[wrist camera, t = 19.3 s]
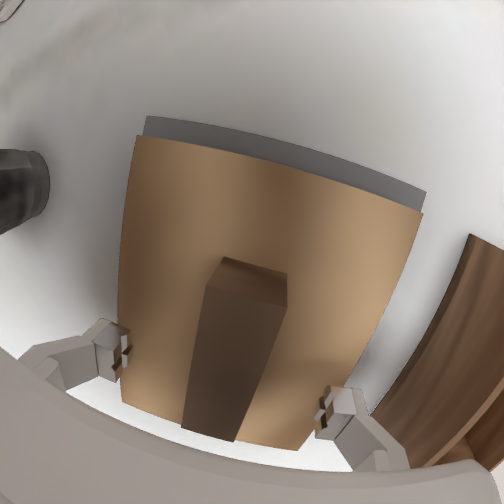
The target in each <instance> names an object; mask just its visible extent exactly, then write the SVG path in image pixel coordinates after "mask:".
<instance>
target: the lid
mask: <svg viewBox="0 0 504 504" xmlns="http://www.w3.org/2000/svg"><path fill="white" fill-rule="evenodd" d="M422 216H423V213H421V212H418V211H416V210H414V209H411V208H409V207H406V206H404V205H401V204H399V203H396V202H393V201H391V200H388V199H386V198H383V197H380V196H378V195H375V194H372V193H369V192H366V191H364V190H361V189H358V188H355V187H352V186H349V185H346V184H343V183H340V182H337V181H334V180H331V179H328V178H325V177H321V176H318V175H315V174H312V173H308V172H305V171H302V170H298V169H295V168H291V167H288V166H284V165H280V164H277V163H273V162H269V161H265V160H261V159H257V158H253V157H249V156H245V155H241V154H237V153H232V152H228V151H223V150H219V149H214V148H209V147H204V146H199V145H194V144H189V143H184V142H178V141H173V140H167V139H161V138H154V137H148V136H140V135H137V138H136V142H135V147H134V152H133V157H132V163H131V168H130V174H129V180H128V186H127V193H126V200H125V207H124V216H123V224H122V234H121V245H120V258H119V275H118V325H120V326H123V327H125V328H127V329H130V330H132V331H133V332H134V339H133V340H132V342H131V343H132V345H133V346H134V352H133V357H132V359H131V362H130V363H129V365H128V366H127V367H124V368H123V373H122V375H121V376H120V385H121V396H122V402H124V403H126V404H128V405H131V406H133V407H135V408H138V409H140V410H143V411H145V412H148V413H150V414H153V415H155V416H158V417H161V418H164V419H166V420H169V421H172V422H175V423H178V424H181V428H184V429H187V430H190V431H193V432H196V433H200V434H203V435H207V436H210V437H214V438H218V439H222V440H225V441H230V442H234V441H235V440H238V441H243V442H247V443H252V444H257V445H262V446H268V447H273V448H280V449H286V450H293V451H298V450H299V448H300V447H301V446H302V445H303V443H304V442H305V441H306V439H307V438H308V437H309V435H310V434H311V433H312V431H313V430H314V429H315V427H314V426H315V425H316V423H317V421H316V420H315V419H314V408H315V405H316V402H317V401H318V399H319V398H320V397H322V396H324V394H323V391H324V389H325V387H326V386H327V385H332V386H339V387H343V385H344V384H345V382H346V381H347V379H348V377H349V376H350V374H351V372H352V371H353V369H354V367H355V366H356V364H357V362H358V360H359V359H360V357H361V355H362V353H363V351H364V350H365V348H366V346H367V344H368V342H369V340H370V339H371V337H372V335H373V333H374V331H375V329H376V327H377V325H378V323H379V321H380V319H381V317H382V315H383V313H384V311H385V309H386V307H387V305H388V302H389V300H390V298H391V296H392V294H393V291H394V289H395V287H396V285H397V282H398V280H399V278H400V275H401V273H402V271H403V268H404V266H405V263H406V261H407V258H408V256H409V253H410V250H411V248H412V245H413V242H414V240H415V237H416V234H417V231H418V228H419V225H420V222H421V219H422Z"/></svg>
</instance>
